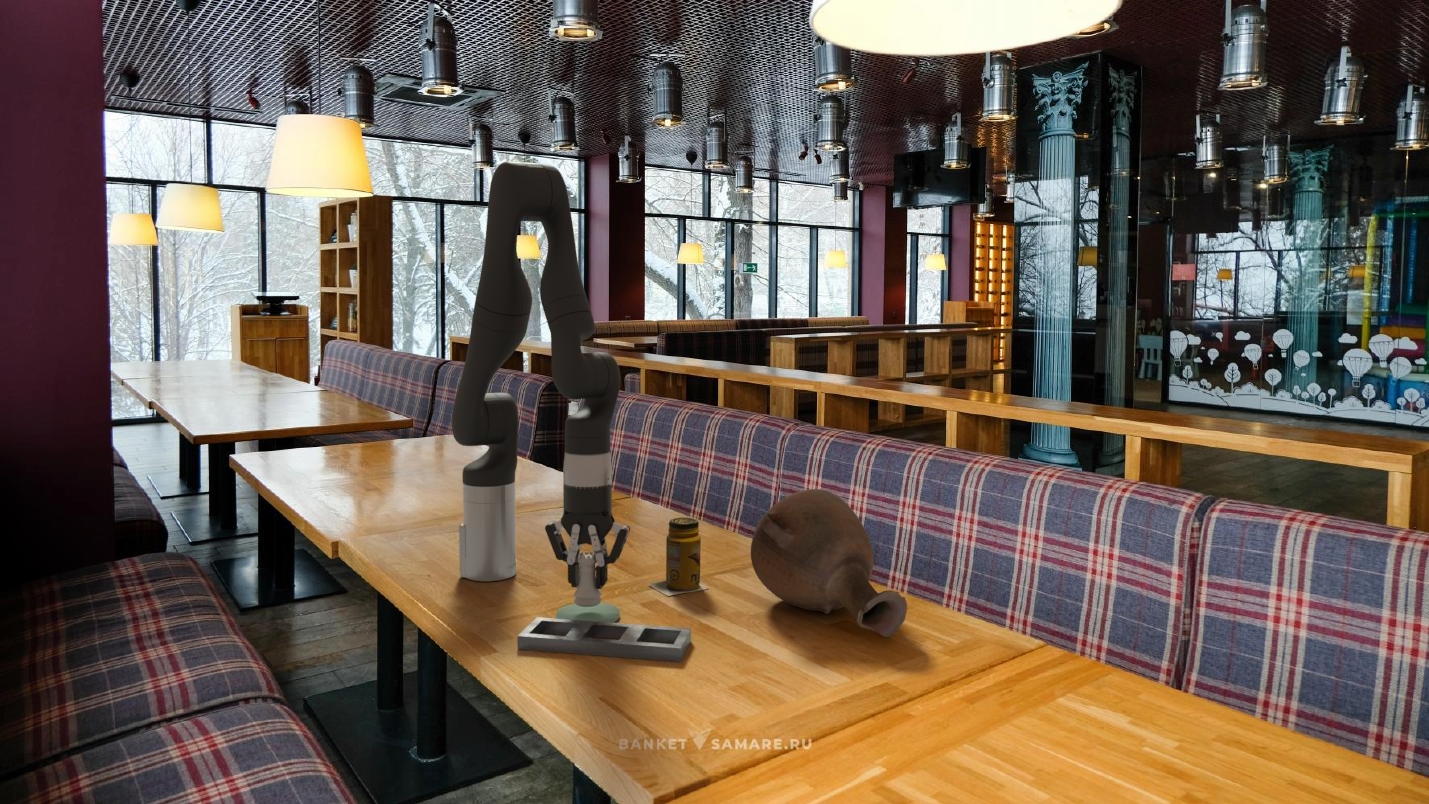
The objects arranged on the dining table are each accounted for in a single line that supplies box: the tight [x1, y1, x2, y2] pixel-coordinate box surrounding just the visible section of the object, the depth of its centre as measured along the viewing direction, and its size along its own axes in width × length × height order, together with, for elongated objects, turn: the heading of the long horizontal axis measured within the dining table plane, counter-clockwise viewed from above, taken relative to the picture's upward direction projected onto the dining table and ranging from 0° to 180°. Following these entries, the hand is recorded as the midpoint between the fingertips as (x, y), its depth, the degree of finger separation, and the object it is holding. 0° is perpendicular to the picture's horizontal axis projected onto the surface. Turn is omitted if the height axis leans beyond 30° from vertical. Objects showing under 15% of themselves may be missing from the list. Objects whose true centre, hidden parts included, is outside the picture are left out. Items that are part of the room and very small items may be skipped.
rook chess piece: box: [573, 551, 603, 607], centre depth 147 cm, size 4×4×8 cm
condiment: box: [647, 517, 710, 597], centre depth 163 cm, size 7×8×12 cm
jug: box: [750, 488, 908, 638], centre depth 150 cm, size 20×20×30 cm
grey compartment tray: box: [517, 616, 692, 663], centre depth 136 cm, size 24×8×2 cm, turn 81°
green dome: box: [555, 602, 621, 623], centre depth 148 cm, size 10×10×1 cm
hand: (587, 586), depth 148 cm, fingers closed on rook chess piece, 3 cm apart
